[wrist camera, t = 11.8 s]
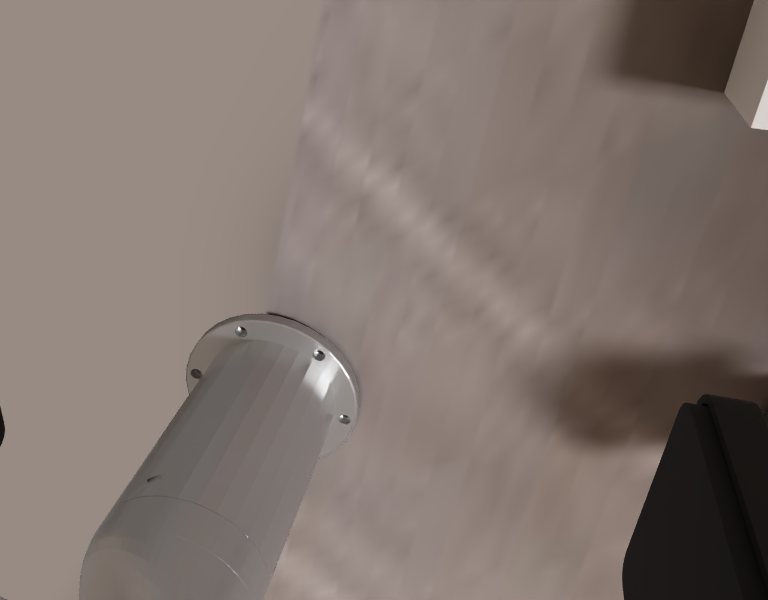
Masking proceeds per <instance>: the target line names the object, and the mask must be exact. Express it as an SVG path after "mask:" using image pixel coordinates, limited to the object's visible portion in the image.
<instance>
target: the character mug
mask: <svg viewBox="0 0 768 600" xmlns="http://www.w3.org/2000/svg"><path fill="white" fill-rule="evenodd" d="M764 420H765V423H766V425H767V428H768V412H767V414H766V416H765V418H764Z"/></svg>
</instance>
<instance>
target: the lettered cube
mask: <svg viewBox="0 0 768 600" xmlns="http://www.w3.org/2000/svg"><path fill="white" fill-rule="evenodd" d="M724 93H725V95H726V96H727V97H728V98H729V100H730V101H731V102H732V104H733V105H734V106H735V108H736V109H737V110H738V112H739V113H740V114H741V115H742V117H743V118H744V119H745V121H746V122H747V123H748V125H749V126H750V127H751V128H757V129H764V130H768V0H754V2H753V5H752V8H751V11H750V15H749V18H748V21H747V24H746V27H745V30H744V33H743V36H742V39H741V42H740V45H739V48H738V52H737V55H736V58H735V61H734V64H733V67H732V70H731V73H730V76H729V79H728V82H727V85H726V89H725V92H724Z"/></svg>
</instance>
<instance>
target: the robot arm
mask: <svg viewBox="0 0 768 600" xmlns="http://www.w3.org/2000/svg"><path fill="white" fill-rule="evenodd" d="M186 380H187V386H188V392H189V396H188V397H187V399H186V400H185V402H184V403H183V405H182V406H181V408H180V409H179V411H178V412H177V414H176V415H175V417H174V418H173V419H172V421H171V422H170V424H169V426H168V427H167V429H166V430H165V431H164V433H163V434H162V436H161V437H160V439H159V440H158V442H157V443H156V444H155V446H154V447H153V449H152V450H151V452H150V453H149V455H148V456H147V458H146V459H145V461H144V462H143V464H142V465H141V467H140V468H139V469H138V471H137V472H136V474H135V475H134V477H133V478H132V480H131V481H130V483H129V484H128V486H127V487H126V489H125V490H124V491H123V493H122V495H121V496H120V498H119V499H118V500H117V502H116V503H115V505H114V506H113V508H112V509H111V511H110V512H109V514H108V515H107V517H106V518H105V520H104V521H103V522H102V524H101V525H100V527H99V528H98V530H97V531H96V533H95V535H94V537H93V538H92V540H91V542H90V544H89V547H88V550H87V552H86V554H85V557H84V560H83V566H82V570H81V575H80V589H79V600H263V598H264V596H265V593H266V591H267V588H268V586H269V583H270V581H271V578H272V575H273V573H274V570H275V568H276V565H277V563H278V560H279V558H280V555H281V552H282V550H283V547H284V545H285V542H286V540H287V537H288V535H289V532H290V529H291V527H292V524H293V522H294V519H295V517H296V514H297V511H298V509H299V506H300V504H301V501H302V499H303V496H304V494H305V491H306V488H307V486H308V483H309V481H310V478H311V476H312V473H313V470H314V468H315V465H316V463H317V460H318V459H320V458H323V457H325V456H327V455H329V454H330V453H332V452H334V451H336V450H337V449H338V448H339V447H340V446H341V445H342V444H343V443H344V442H345V441H346V440H347V438H348V437H349V435H350V434H351V432H352V430H353V428H354V425H355V422H356V420H357V416H358V412H359V407H360V397H359V389H358V385H357V381H356V378H355V376H354V374H353V372H352V370H351V368H350V366H349V364H348V362H347V361H346V360H345V358H344V357H343V356H342V354H341V353H340V352H339V350H337V349H336V348H335V347H334V346H333V345H332V344H331V343H330V342H329V341H328V340H327V339H326V338H324V337H323V336H321V335H320V334H318V333H317V332H315V331H314V330H313V329H311V328H309V327H307V326H305V325H302V324H300V323H298V322H296V321H293V320H290V319H287V318H283V317H280V316H274V315H267V314H245V315H241V316H236V317H232V318H229V319H226V320H224V321H222V322H220V323H218V324H216V325H215V326H214V327H212V328H211V329H210V330H208V331H207V332H206V333H205V334H204V336H203V337H202V338H201V339H200V340H199V342H198V343H197V344H196V346H195V348H194V349H193V351H192V353H191V354H190V358H189V361H188V364H187V375H186ZM4 433H5V426H4V421H3V416H2V412H1V408H0V446H1V444H2V441H3V438H4ZM622 583H623V593H624V600H768V428H767V425H766V423H765V420H764V418H763V416H762V413H761V411H760V409H759V407H758V406H757V404H755V403H753V402H748V401H743V400H737V399H731V398H726V397H720V396H715V395H709V394H705V395H702V397H701V398H700V399H699V400H698V402H697V404H691V403H684V404H683V405H682V406H681V408H680V410H679V412H678V415H677V417H676V420H675V423H674V426H673V428H672V431H671V434H670V436H669V439H668V442H667V444H666V447H665V450H664V452H663V455H662V458H661V460H660V463H659V466H658V468H657V471H656V474H655V476H654V479H653V482H652V484H651V487H650V490H649V492H648V495H647V498H646V500H645V503H644V506H643V508H642V511H641V514H640V516H639V519H638V522H637V524H636V527H635V530H634V532H633V535H632V538H631V540H630V543H629V546H628V548H627V551H626V554H625V558H624V563H623V572H622ZM0 600H7V599H4V598H2V597H0Z"/></svg>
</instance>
